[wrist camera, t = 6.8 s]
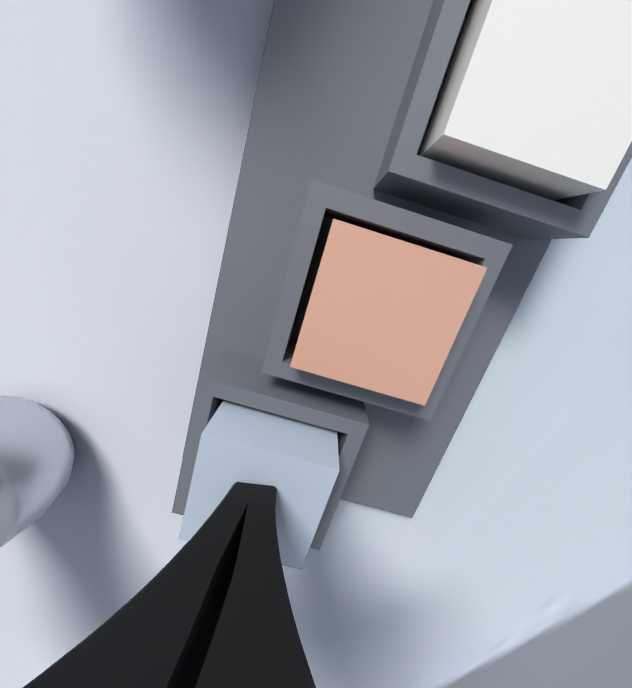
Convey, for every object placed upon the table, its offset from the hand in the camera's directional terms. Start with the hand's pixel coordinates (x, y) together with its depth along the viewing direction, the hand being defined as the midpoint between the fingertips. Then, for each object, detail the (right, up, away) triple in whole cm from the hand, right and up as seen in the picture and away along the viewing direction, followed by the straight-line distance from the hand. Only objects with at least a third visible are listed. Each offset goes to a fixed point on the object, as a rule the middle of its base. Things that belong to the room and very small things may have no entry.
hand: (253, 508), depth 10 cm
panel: (+4, +8, +3) cm, 9 cm away
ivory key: (+8, +13, -1) cm, 15 cm away
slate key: (0, +1, +2) cm, 3 cm away
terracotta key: (+4, +7, +1) cm, 8 cm away
